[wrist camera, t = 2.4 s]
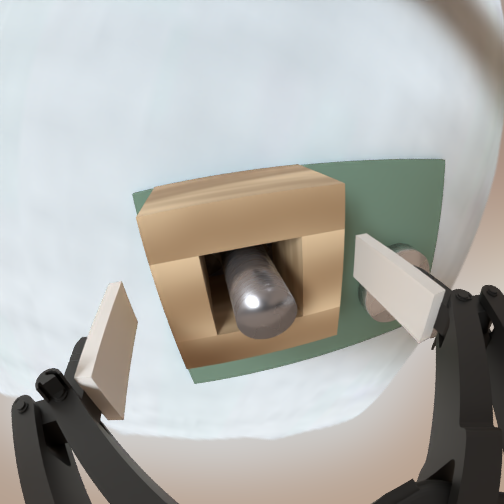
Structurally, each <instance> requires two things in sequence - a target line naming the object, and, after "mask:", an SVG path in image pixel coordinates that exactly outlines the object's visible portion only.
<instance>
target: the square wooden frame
mask: <svg viewBox="0 0 504 504" xmlns="http://www.w3.org/2000/svg"><path fill="white" fill-rule="evenodd" d="M136 220H137V223H138V227H139V231H140V235H141V239H142V242H143V246H144V249H145V253H146V256H147V260H148V263H149V266H150V269H151V273H152V276H153V279H154V282H155V285H156V288H157V291H158V294H159V297H160V300H161V303H162V306H163V309H164V312H165V315H166V317H167V320H168V323H169V326H170V328H171V331H172V333H173V336H174V339H175V341H176V344H177V346H178V349H179V351H180V354H181V356H182V359H183V361H184V364H185V366H186V368H187V369H192V368H198V367H204V366H210V365H215V364H221V363H226V362H231V361H236V360H241V359H246V358H250V357H255V356H259V355H264V354H268V353H272V352H276V351H280V350H284V349H288V348H292V347H296V346H300V345H303V344H307V343H310V342H314V341H317V340H321V339H324V338H328V337H331V336H334V335H337V329H338V320H339V311H340V300H341V288H342V275H343V259H344V236H345V183H343V182H341V181H338V180H336V179H333V178H331V177H329V176H326V175H324V174H321V173H319V172H316V171H314V170H311V169H309V168H306V167H304V166H301V165H298V164H296V165H287V166H278V167H270V168H262V169H254V170H247V171H240V172H234V173H227V174H221V175H215V176H209V177H203V178H198V179H192V180H187V181H182V182H177V183H172V184H167V185H162V186H157V187H154V189H153V190H152V192H151V194H150V195H149V197H148V198H147V200H146V202H145V203H144V205H143V207H142V208H141V210H140V212H139V213H138V215H137V217H136ZM265 243H271V244H272V256H273V264H274V265H275V267H276V269H277V271H278V272H279V274H280V276H281V277H282V279H283V281H284V282H285V284H286V286H287V288H288V289H289V291H290V293H291V294H292V296H293V298H294V300H295V302H296V304H297V315H296V318H295V320H294V322H293V323H292V325H291V326H290V327H289V328H288V329H287V330H286V331H284V332H283V333H281V334H280V335H278V336H275V337H272V338H269V339H253V338H250V337H247V336H246V335H244V334H243V333H242V332H241V331H240V330H239V329H238V326H237V323H236V320H235V316H234V312H233V308H232V304H231V300H230V296H229V291H228V287H227V283H226V279H225V275H224V274H223V275H218V276H212V277H208V272H207V267H206V262H205V258H204V255H207V254H212V253H217V252H223V251H228V250H233V249H239V248H244V247H249V246H255V245H260V244H265Z"/></svg>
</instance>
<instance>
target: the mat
mask: <svg viewBox="0 0 504 504" xmlns="http://www.w3.org/2000/svg"><path fill="white" fill-rule="evenodd" d="M301 166H304V167H306V168H309V169H311V170H314V171H316V172H319V173H321V174H324V175H326V176H329V177H331V178H333V179H336V180H338V181H341V182H343V183H345V236H344V259H343V275H342V288H341V300H340V311H339V320H338V329H337V335H334V336H331V337H328V338H324V339H321V340H317V341H314V342H310V343H307V344H303V345H300V346H296V347H292V348H288V349H284V350H280V351H276V352H272V353H268V354H264V355H259V356H255V357H250V358H246V359H241V360H236V361H231V362H226V363H221V364H215V365H210V366H204V367H198V368H192V369H188V370H189V372H190V374H191V377H192V379H193V381H194V384H197V383H204V382H210V381H216V380H221V379H226V378H232V377H237V376H242V375H246V374H251V373H255V372H260V371H264V370H268V369H273V368H277V367H281V366H284V365H288V364H292V363H296V362H299V361H303V360H307V359H310V358H313V357H317V356H320V355H323V354H327V353H330V352H333V351H336V350H339V349H342V348H345V347H348V346H351V345H354V344H357V343H360V342H363V341H365V340H368V339H371V338H373V337H376V336H379V335H381V334H384V333H386V332H389V331H392V330H394V329H396V328H399V327H401V326H402V325H401V324H400V323H399V322H398V321H397V320H393V321H390V322H378V321H376V320H374V319H373V318H372V317H371V316H370V314H369V313H368V312H367V311H366V310H365V309H364V307H363V306H362V305H361V304H360V301H359V298H358V287H359V282H358V281H357V280H356V279H355V278H354V277H353V272H354V258H355V240H356V235H360V234H365V233H367V234H368V235H370V236H371V237H373V238H374V239H376V240H377V241H379V242H380V243H382V244H383V245H385V246H386V247H388V246H390V245H393V244H397V243H405V244H408V245H410V246H411V247H413V248H414V249H416V250H417V251H419V252H420V253H421V254H423V255H424V256H425V257H426V258H427V260H428V263H429V270H430V271H431V267H432V262H433V257H434V252H435V247H436V241H437V235H438V229H439V222H440V215H441V207H442V197H443V186H444V172H445V160H443V159H387V160H362V161H344V162H330V163H318V164H307V165H301ZM152 190H153V189H149V190H145V191H140V192H136V193H133V194H132V195H133V199H134V204H135V208H136V212H137V215H138V213H139V212H140V210H141V208H142V207H143V205H144V203H145V202H146V200H147V198H148V197H149V195H150V194H151V192H152ZM429 275H430V272H429Z"/></svg>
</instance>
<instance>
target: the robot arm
mask: <svg viewBox="0 0 504 504" xmlns="http://www.w3.org/2000/svg"><path fill="white" fill-rule="evenodd" d="M353 277H354V278H355V279H356V280H357V281H358V282H359V283H360V284H361V285H362V286H363V287H364V288H365V289H366V290H367V291H368V292H369V293H370V294H371V295H372V296H373V297H374V298H375V299H376V300H377V301H378V302H379V303H380V304H381V305H382V306H383V307H384V308H385V309H386V310H387V311H388V312H389V313H390V314H391V315H392V316H393V317H394V318H395V319H396V320H397V321H398V322H399V323H400V324H401V325H402V326H403V327H404V328H405V329H406V330H407V331H408V332H409V334H410V335H411V336H412V337H413V338H414V339H415V340H416V341H417V342H418V343H421V342H423V341H425V340H427V339H429V338H430V336H431V334H432V331H433V328H434V329H435V330H436V331H437V335H436V338H435V340H434V343H433V345H432V350H433V349H434V347H435V346H436V382H435V399H434V411H433V421H432V429H431V436H430V443H429V449H428V454H427V459H426V462H425V464H424V466H423V468H422V469H421V471H420V474H419V477H418V480H417V482H414V480H413V479H411V480H410V481H408V482H406V483H405V484H403V485H401V486H399V487H397V488H396V489H394V490H392V491H390V492H388V493H386V494H385V495H383V496H382V497H381V498H379V499H378V500H376V501H375V502H373V503H372V504H504V492H499V487H500V478H501V466H502V448H503V452H504V295H503V294H502V292H501V291H500V290H499V289H498V288H496V287H495V286H492V285H485V286H483V287H482V290H481V293H480V295H475V296H472V295H471V294H470V293H469V292H467V291H465V290H461V289H456V290H453V291H452V290H451V289H449V288H448V287H447V286H445V285H444V284H443V283H441V282H440V281H439V280H437V279H436V278H434V277H433V276H432V275H431V274H430V275H429V273H428V272H427V271H425V270H424V269H422V268H420V267H417V266H415V265H412V264H410V263H409V262H407V261H406V260H405V259H403V258H402V257H400V256H399V255H398V254H396V253H395V252H393V251H392V250H390V249H389V248H388V247H386V246H385V245H383V244H382V243H380V242H379V241H377V240H376V239H374V238H373V237H371V236H370V235H368V234H367V233H365V234H360V235H356V240H355V258H354V272H353ZM492 323H493V325H494V329H493V331H492V332H491V330H490V326H491V324H492ZM137 324H138V321H137V319H136V317H135V314H134V312H133V309H132V307H131V304H130V302H129V299H128V297H127V294H126V291H125V289H124V286H123V283H122V281H120V282H115V283H110V284H109V285H108V287H107V290H106V292H105V294H104V297H103V299H102V301H101V304H100V306H99V309H98V311H97V314H96V316H95V319H94V321H93V324H92V326H91V329H90V332H89V334H88V337H82V338H81V339H80V340H79V341H78V342H77V343H76V345H75V347H74V349H73V352H72V355H71V357H70V362H69V363H68V366H67V369H66V372H65V375H64V376H63V374H62V373H61V372H60V371H59V370H58V369H55V368H52V369H48V370H46V371H44V372H43V373H41V374H40V375H39V377H38V378H37V380H36V384H35V386H36V390H37V391H38V392H39V393H40V395H41V396H42V397H43V398H44V400H41V401H37V402H35V401H34V400H33V399H32V398H31V397H30V396H28V395H23V396H20V397H19V398H17V399H16V400H15V402H14V403H13V405H12V411H11V412H12V429H13V440H14V448H15V456H16V462H17V468H18V474H19V478H20V483H21V488H22V492H23V496H24V500H25V503H26V504H92V503H91V501H90V499H89V496H88V494H87V492H86V489H85V487H84V484H83V482H82V479H81V477H80V474H79V471H78V468H77V465H76V462H75V459H74V456H73V453H72V450H73V452H74V453H75V455H76V457H77V458H78V460H79V461H80V463H81V464H82V466H83V468H84V469H85V471H86V472H87V474H88V475H89V477H90V478H91V479H92V481H93V482H94V483H95V485H96V486H97V488H98V489H99V490H100V492H101V493H102V494H103V496H104V497H105V498H106V499H107V501H108V502H109V503H110V504H178V503H177V502H176V501H175V500H174V499H173V498H172V497H170V496H169V495H168V494H167V493H166V492H165V491H164V490H163V489H162V488H160V487H159V486H158V485H157V484H156V483H155V482H154V481H153V480H152V479H151V478H150V477H149V476H148V475H147V474H146V473H145V472H144V471H143V470H142V469H141V468H140V467H139V466H138V464H137V463H136V462H135V461H134V460H133V459H132V458H131V457H130V456H129V454H128V453H127V452H126V451H125V450H124V449H123V448H122V446H121V445H120V444H119V443H118V442H117V441H116V439H115V438H114V437H113V435H112V434H111V433H110V432H109V430H108V429H107V428H106V426H105V425H104V424H103V423H102V422H101V421H100V418H101V413H102V414H103V415H104V416H105V417H106V418H107V420H124V412H125V403H126V394H127V386H128V378H129V371H130V365H131V358H132V352H133V346H134V340H135V335H136V329H137ZM492 405H493V408H494V412H495V416H496V420H497V424H498V428H497V427H494V425H493V408H492ZM71 448H72V450H71Z"/></svg>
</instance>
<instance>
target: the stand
mask: <svg viewBox="0 0 504 504" xmlns="http://www.w3.org/2000/svg"><path fill="white" fill-rule="evenodd" d="M204 258H205V262H206V267H207V272H208V277H212V276H218V275H223V274H224V275H225V279H226V283H227V287H228V291H229V296H230V300H231V304H232V308H233V312H234V316H235V320H236V323H237V326H238V329H239V330H240V331H241V332H242V333H243V334H244V335H246V336H247V337H250V338H253V339H269V338H272V337H275V336H278V335H280V334H281V333H283V332H284V331H286V330H287V329H288V328H289V327H290V326H291V325H292V323H293V322H294V320H295V318H296V315H297V304H296V302H295V300H294V298H293V296H292V294H291V293H290V291H289V289H288V288H287V286H286V284H285V282H284V281H283V279H282V277H281V276H280V274H279V272H278V271H277V269H276V267H275V265H274V264H273V256H272V244H271V243H265V244H260V245H255V246H249V247H244V248H239V249H233V250H228V251H223V252H217V253H212V254H207V255H204Z"/></svg>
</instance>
